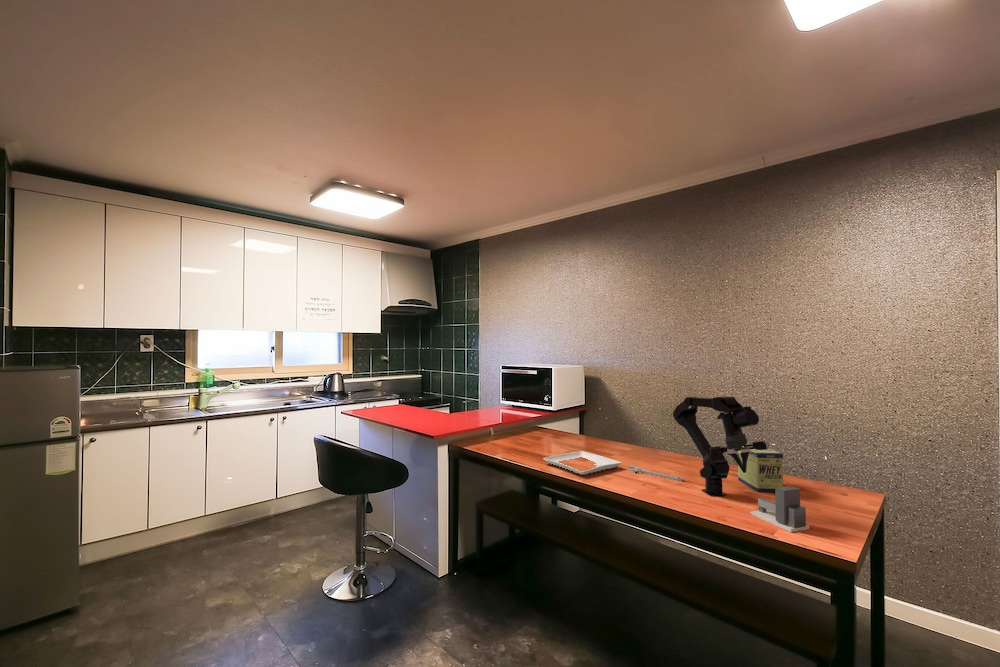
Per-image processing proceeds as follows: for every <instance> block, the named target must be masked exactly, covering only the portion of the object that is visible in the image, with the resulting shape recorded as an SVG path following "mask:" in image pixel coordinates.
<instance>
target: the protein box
mask: <svg viewBox="0 0 1000 667" xmlns="http://www.w3.org/2000/svg"><path fill="white" fill-rule="evenodd" d="M742 447H744V446H742ZM750 451H751V452H752V454H749V456H748V460H747V469H746V473H743V471H742V470H741V468H740V467H739V465H738V464H737V480H738V481H740V482H741V483H743V484H744V485H746V486H747V487H749V488H751V489H752V490H754V491H756V492H757V493H775V488H778V487H784V454H783V453H781V452H779V451H776V450H774V449H771V448H769V449H766V450H756V449H751V450H750ZM737 453H739V456H740V459H741V461H742V457H741V454H740V453H742V451H737ZM742 464H743V463H742Z"/></svg>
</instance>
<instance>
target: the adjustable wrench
mask: <svg viewBox="0 0 1000 667" xmlns="http://www.w3.org/2000/svg"><path fill="white" fill-rule="evenodd" d="M627 467H628V468H627V471H628V470H629V471H633V472H637V473H636V474H639V473H638V472H641V473H640V474H643V473H646V474H645V475H648V474H651V475H650V476H653V475H655V476H654V477H657V476H660V477H659V478H662V477H664V478H663V479H666V478H669V479H668V480H671V479H673V480H672V481H675V480H677V481H676V482H680V481H682V482H683V481H684V478H683V477H680V476H676V475H671V474H666V473H662V472H658V471H656V472H655V471H653V470H647V469H645V468H641V467H639V466H635V465H629V466H627ZM633 468H634V469H633ZM629 471H628V472H629ZM633 472H632V473H633Z"/></svg>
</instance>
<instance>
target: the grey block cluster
mask: <svg viewBox="0 0 1000 667" xmlns="http://www.w3.org/2000/svg"><path fill="white" fill-rule="evenodd" d="M757 503H758V504H757V506H758V510H759V511H760V512H762V513H763V512H767V509H768V510H771V511H773V512H776V503H775V501H773V500H770V499H768V498H765V497H759V498H757ZM787 525H788V526H790V527H792V528H800V527H806V525H807V508H806V507H805V506H803V505H801V504H800V505H792V506H787Z"/></svg>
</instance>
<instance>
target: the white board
mask: <svg viewBox="0 0 1000 667" xmlns="http://www.w3.org/2000/svg"><path fill="white" fill-rule="evenodd" d="M750 515H752V516H753V517H756V518H758V519H760V520H763V521H764V522H767V523H769V524H772V525H774V526H776V527H779V528H781V529H783V530H785V531H787V532H790V533H792V532H801V531H807V530H810V525H809V524H806V527H800V528H792V527H790V526H788V525H787V524H783V523H781V522H778V521H776V512H773V511H771V510H768V509H767V512H763V513H762V512H760V511H759V509H757V510H752V511H750Z"/></svg>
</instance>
